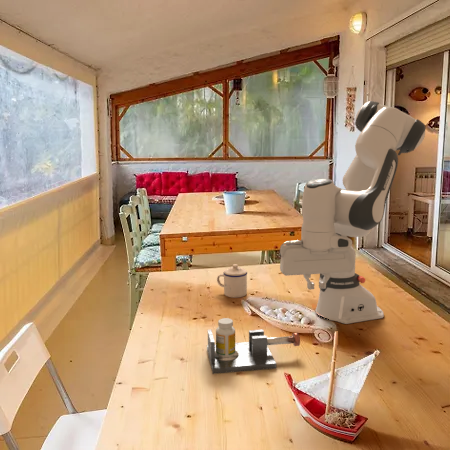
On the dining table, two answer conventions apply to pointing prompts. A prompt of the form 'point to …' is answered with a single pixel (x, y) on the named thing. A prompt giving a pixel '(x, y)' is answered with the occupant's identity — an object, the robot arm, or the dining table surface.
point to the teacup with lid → (234, 281)
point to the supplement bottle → (225, 338)
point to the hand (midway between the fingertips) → (316, 288)
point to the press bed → (242, 355)
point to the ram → (285, 340)
